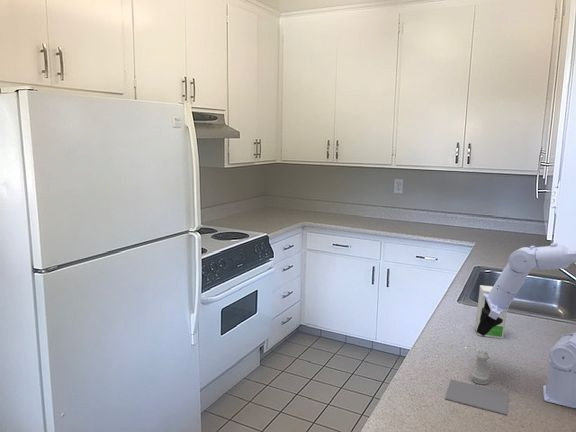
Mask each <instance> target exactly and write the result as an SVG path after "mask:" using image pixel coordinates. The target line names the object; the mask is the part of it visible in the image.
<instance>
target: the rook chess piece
mask: <svg viewBox="0 0 576 432" xmlns="http://www.w3.org/2000/svg"><path fill="white" fill-rule="evenodd" d="M475 357H476V360H475V362H476V366H475V369H474V370H473V372H472V373H471V381H472V382H473V383H474V384H476V385H477V384H478V385H479V386H480V385H483V386H484V385H485V386H486V385H488V384H489V382H490V377H489V373H488V371H487V370H488V369H487V365H488V364H489V363H488V360H489V359H490V357H489V353H488V352H487V351H483V350H481V351H480V350H478V351H477V353H476V354H475Z"/></svg>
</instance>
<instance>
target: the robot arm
mask: <svg viewBox="0 0 576 432" xmlns="http://www.w3.org/2000/svg"><path fill="white" fill-rule="evenodd" d="M575 263H576V248H575V249H574V248H573V249H571V248H568V247H566V245H564V244H559V245H558V242H553V243H551V244H550V245H547V246H536V245H530V246H529V247H526V246H525V247H520V248H519V249H516V250H514V251H512V253H510V255H509V256H508V260H507V263H506V266H505V267H504V268H503V270H502V271H501V273H500V275H499V276H498V278H497V279H496V281H495V282H494V285H493V288H492V289H491V291H490V293H489V294H486V293H483V296H482V297H483V298H485V305H484V308H482V311H481V317H480V323H479V325H478V328H477V332H476V334H477V333H479V334H481V335H483V336H482V337H485V336H484V335H486V334H487V333H488V332H489V331H490V330H491V329H492V328H493V327H495V326H497V325H499V324H501V323H502V322H503V319H501V318H499V317H498V316H499V314H501V313H503V312H505V311H506V310H507V311H508V310H509V309H510V305H511V303H512V302H513V300H514V299H515V297H516V296H517V294H518V293H519V291H520V289H521V288H522V286H523V284H524V283H525V281H526V278H527V277H528V275H529V273H531V270H537V271H545V270H547V271H548V270H561V269H562V270H564V269H565V270H566V269H567V268H568V267H570V265H571V264H575ZM548 358H549V362H548V369H547V378H546V384H545V385H543V386H542V389H543V390H542V393H543V400H544V401H545V402H547V403H552V404H555V405H560V406H564V407H568V408H572V409H576V330H575V331H574V332H572V333H566V334H563V335H561V336H560V337H559V338H558V340H557V342H556V343H555V344H554V345H553V346H552V347H551V348H550V350H549V352H548Z"/></svg>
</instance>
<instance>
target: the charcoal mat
mask: <svg viewBox="0 0 576 432" xmlns="http://www.w3.org/2000/svg"><path fill="white" fill-rule="evenodd" d="M444 400H445V401H450V402H454V403H458V404H462V405H465V406H468V407H472V408H477V409H481V410H484V411H489V412H492V413H496V414H500V415H504V416H508V406H509V405H508V404H509V392H506V391H501V390H498V389H493V388H489V387H485V386H480V385H477V384H472V383H468V382H463V381H461V380H456V379H450V381H449V383H448V387H447V391H446V393H445V396H444Z"/></svg>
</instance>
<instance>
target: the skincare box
mask: <svg viewBox="0 0 576 432" xmlns="http://www.w3.org/2000/svg"><path fill="white" fill-rule="evenodd" d="M493 286H494V285H493ZM493 286H492V285H481V284H480V285H479V293H478V301H477V302H478V303H477V308H476V314H475V315H476V317H475V325H474V330H475V332H476V335H477V336H480V337H487V338H495V339H500V340H501V339H502V340H503V339H504V335H505V329H506V327H505V326H506V321H507V312H508V310H506V311H505V312H503V313H501V314H499V316H498V317H499V318H501V319H503V322H502V323H501V324H499V325H497V326H495V327H493V328H492V329H491V330H490V331H489V332H488V333H487V334H486V335H484V336H483V335H481V334H479V333H477V328H478V325H479V323H480V317H481V311H482V308H484V305H485V298H483V297H482V296H483V293H486V294H489V293H490V291H491V289H492V288H493Z"/></svg>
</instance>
